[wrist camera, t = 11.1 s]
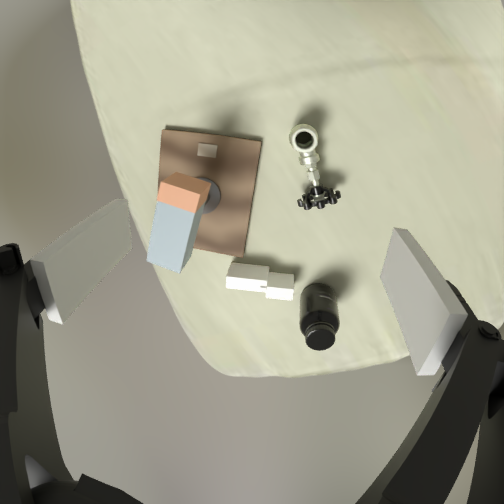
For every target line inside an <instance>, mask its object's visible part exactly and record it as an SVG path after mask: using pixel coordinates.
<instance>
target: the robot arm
mask: <svg viewBox="0 0 504 504" xmlns="http://www.w3.org/2000/svg"><path fill="white" fill-rule="evenodd" d="M131 249H132V240H131V231H130V221H129V210H128V200H127V199H114V200H113V201H111V202H110V203H108V204H107V205H105V206H104V207H102V208H100V209H99V210H97V211H96V212H94V213H93V214H91V215H90V216H88V217H87V218H85V219H84V220H83V221H81V222H80V223H78V224H77V225H75V226H74V227H72V228H71V229H70V230H68V231H67V232H65V233H64V234H63V235H61V236H60V237H59V238H57V239H56V240H55V241H53V242H52V243H51V244H49V245H48V246H46V247H45V248H44V249H43V250H41V251H40V252H39V253H37V254H36V255H35V256H34V257H33V258H31V259H30V260H29V261H28V262H27V263H25V264H23V260H22V256H21V253H20V250H19V245H17V244H14V243H11V244H6V245H3V246H1V247H0V504H143V503H141V502H140V501H138V500H136V499H135V498H133V497H132V496H130V495H128V494H127V493H125V492H124V491H122V490H120V489H118V488H115V487H112V486H110V485H107V484H105V483H102V482H100V481H98V480H95V479H93V478H91V477H89V476H86V475H84V474H82V475H81V477H80V479H79V481H74V480H73V478H72V476H71V475H70V473H69V471H68V469H67V468H66V466H65V464H64V461H63V458H62V455H61V451H60V447H59V443H58V439H57V434H56V429H55V424H54V419H53V414H52V408H51V402H50V395H49V389H48V381H47V373H46V363H45V352H44V336H43V320H42V317H41V314H40V313H41V312H42V311H43V309H46V312H47V315H48V317H49V319H50V320H51V321H54V322H57V323H60V324H64V323H65V321H66V320H67V319H68V318H69V317H70V316H71V314H72V313H73V312H74V311H75V310H76V308H77V307H78V306H79V305H80V304H81V303H82V302H83V301H84V299H85V298H86V297H87V296H88V295H89V294H90V293H91V291H93V289H94V288H95V287H96V286H97V285H98V284H99V283H100V282H101V281H102V279H103V278H104V277H105V276H106V275H107V274H108V273H109V272H110V271H111V270H112V269H113V268H114V267H115V266H116V265H117V264H118V262H119V261H120V260H121V259H122V258H123V257H124V256H125V255H126V254H127V253H128V252H129V251H130V250H131ZM380 278H381V280H382V283H383V285H384V288H385V290H386V292H387V295H388V297H389V300H390V302H391V305H392V307H393V310H394V312H395V315H396V318H397V320H398V323H399V325H400V328H401V331H402V334H403V336H404V339H405V342H406V345H407V347H408V350H409V353H410V356H411V359H412V362H413V365H414V368H415V371H416V374H417V375H434V374H435V373H436V371H437V370H438V368H439V366H440V365H441V363H442V365H443V367H444V370H445V372H444V373H443V375H442V376H441V378H440V379H439V381H438V382H437V384H436V385H435V387H434V388H433V390H432V392H433V393H432V395H431V397H430V398H429V400H428V402H427V404H426V406H425V408H424V409H423V411H422V412H421V414H420V416H419V417H418V419H417V421H416V422H415V424H414V426H413V427H412V429H411V430H410V432H409V433H408V435H407V437H406V438H405V440H404V441H403V443H402V444H401V446H400V447H399V449H398V450H397V451H396V453H395V454H394V456H393V457H392V459H391V460H390V461H389V462H388V464H387V465H386V467H385V468H384V469H383V471H382V472H381V473H380V474H379V476H378V477H377V478H376V480H375V481H374V482H373V483H372V485H371V486H370V487H369V488H368V490H367V491H366V492H365V493H364V494H363V495H362V497H361V498H360V499H359V500H358V501H357V502H356V503H355V504H444V502H445V500H446V499H447V497H448V495H449V493H450V491H451V489H452V487H453V485H454V483H455V481H456V479H457V477H458V475H459V473H460V471H461V469H462V467H463V464H464V462H465V460H466V457H467V455H468V453H469V450H470V448H471V445H472V443H473V441H474V437H475V435H476V433H477V429H478V427H479V424H480V431H479V440H478V448H477V455H476V461H475V467H474V473H473V478H472V483H471V488H470V493H469V497H468V501H467V504H504V340H502V339H501V335H500V333H499V331H498V330H497V329H496V328H495V327H494V326H493V325H491V324H490V323H488V322H485V321H481V320H478V319H477V318H476V316H475V315H474V313H473V311H472V310H471V308H470V307H469V305H468V304H467V303H466V301H465V299H464V298H463V297H462V295H461V293H460V292H459V291H458V289H457V288H456V287H455V286H454V285H453V284H451V283H450V282H449V281H447V280H445V279H444V278H443V276H442V275H441V273H440V272H439V270H438V269H437V268H436V266H435V265H434V264H433V262H432V261H431V259H430V258H429V257H428V255H427V254H426V253H425V251H424V250H423V249H422V247H421V246H420V245H419V244H418V242H417V241H416V240H415V238H414V237H413V236H412V235H411V233H410V232H409V231H408V230H407V229H401V228H393V232H392V236H391V240H390V243H389V247H388V251H387V255H386V258H385V262H384V265H383V269H382V272H381V275H380Z"/></svg>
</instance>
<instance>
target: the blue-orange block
mask: <svg viewBox="0 0 504 504" xmlns="http://www.w3.org/2000/svg"><path fill="white" fill-rule="evenodd" d="M210 186H211V183H209V182H206V181H203V180H200V179H197V178H194V177H191V176H188V175H185V174H182V173H179V172H175V173H173V174H172V175H170V176H169V177H167V178H166V179H164V180H163V181H161V183H160V188H159V192H158V197H157V205H156V210H155V215H154V220H153V226H152V231H151V237H150V243H149V248H148V255H147V261H148V262H150V263H153V264H156V265H158V266H161V267H163V268H166V269H169V270H171V271H174V272H177V273H181V271H182V269H183V268H184V266H185V265H186V263H187V261H188V260H189V258H190V257H191V254H192V250H193V246H194V242H195V239H196V235H197V231H198V227H199V224H200V220H201V216H202V213H203V209H204V206H205V202H206V200H207V197H208V193H209V190H210Z"/></svg>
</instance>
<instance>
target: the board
mask: <svg viewBox="0 0 504 504" xmlns="http://www.w3.org/2000/svg"><path fill="white" fill-rule="evenodd" d="M261 143H262V141H256V140H250V139H244V138H237V137H230V136H223V135H215V134H207V133H199V132H189V131H179V130H168V129H164V130H162V135H161V148H160V161H159V178H158V192H159V188H160V183H161V181H163V180H164V179H166V178H167V177H169V176H170V175H172V174H173V173H175V172H179V173H182V174H185V175H188V176H191V177H194V178H197V179H200V180H203V181H206V182H209V183H211V186H210V190H209V193H208V197H207V200H206V202H205V206H204V209H203V213H202V216H201V220H200V224H199V227H198V231H197V235H196V239H195V242H194V246H193V248H195V249H200V250H205V251H211V252H216V253H221V254H226V255H231V256H236V257H241V258H243V255H244V249H245V243H246V236H247V230H248V224H249V217H250V211H251V205H252V199H253V192H254V186H255V180H256V174H257V168H258V162H259V155H260V149H261Z"/></svg>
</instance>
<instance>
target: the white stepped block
mask: <svg viewBox="0 0 504 504" xmlns="http://www.w3.org/2000/svg"><path fill="white" fill-rule="evenodd" d="M226 288H231V289H240V290H248V291H257V292H266V298H271V299H281V300H291V301H292V299H293V292H294V274H286V273H276V272H269V266H262V265H252V264H242V263H233V262H231V265H230V267H229V270H228V273H227V275H226Z"/></svg>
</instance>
